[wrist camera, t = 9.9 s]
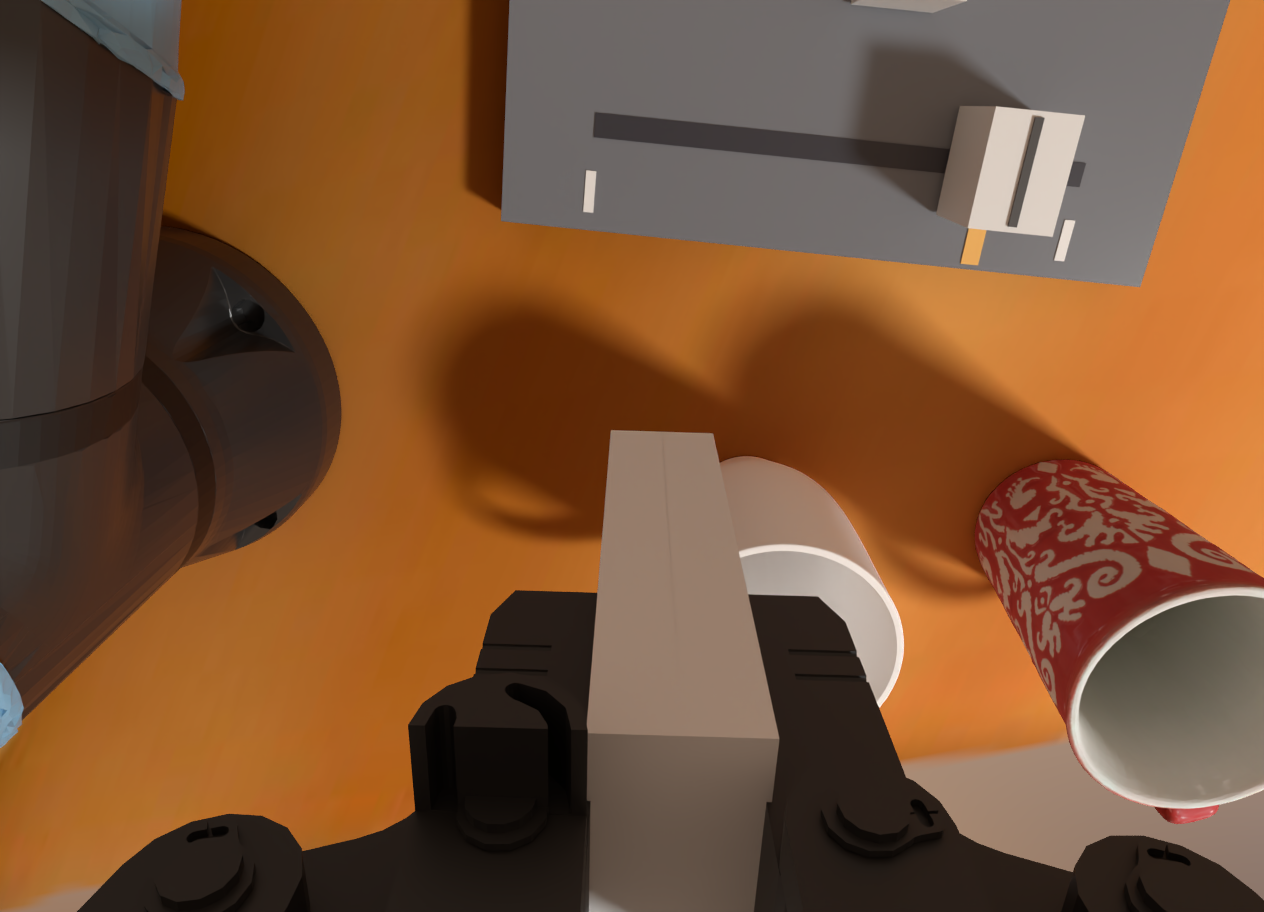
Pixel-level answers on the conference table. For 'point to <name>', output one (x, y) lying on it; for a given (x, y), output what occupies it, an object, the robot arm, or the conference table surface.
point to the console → (846, 122)
